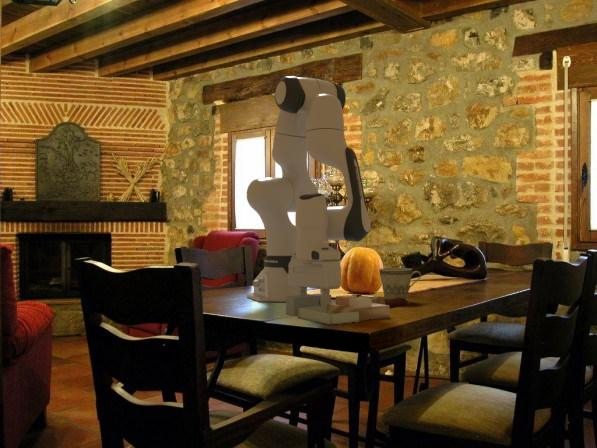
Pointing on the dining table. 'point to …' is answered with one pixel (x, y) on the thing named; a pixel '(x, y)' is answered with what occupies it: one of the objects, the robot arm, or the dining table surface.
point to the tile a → (344, 299)
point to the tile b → (360, 302)
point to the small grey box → (302, 302)
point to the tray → (326, 315)
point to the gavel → (386, 300)
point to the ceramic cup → (396, 282)
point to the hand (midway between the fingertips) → (313, 304)
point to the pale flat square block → (361, 311)
